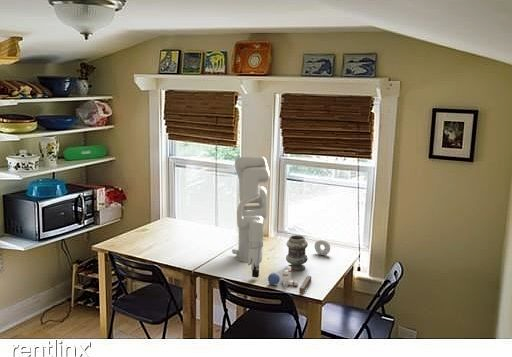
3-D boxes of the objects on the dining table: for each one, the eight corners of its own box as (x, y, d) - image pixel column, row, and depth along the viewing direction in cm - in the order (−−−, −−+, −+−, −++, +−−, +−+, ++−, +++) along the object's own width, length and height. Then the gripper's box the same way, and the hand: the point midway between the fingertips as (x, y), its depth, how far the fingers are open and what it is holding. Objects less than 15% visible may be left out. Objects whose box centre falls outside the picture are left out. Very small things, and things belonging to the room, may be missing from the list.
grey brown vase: (293, 262, 283) (294, 232, 279) (311, 267, 276) (312, 236, 272) (281, 268, 274) (282, 237, 270) (299, 274, 267) (300, 242, 263)
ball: (277, 288, 249) (268, 287, 253) (283, 280, 253) (274, 279, 257) (273, 278, 247) (264, 277, 251) (279, 271, 251) (270, 270, 255)
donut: (330, 255, 294) (331, 239, 292) (328, 257, 291) (329, 241, 289) (315, 252, 299) (316, 236, 297) (313, 254, 296) (313, 238, 294)
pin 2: (285, 283, 255) (285, 267, 253) (286, 281, 257) (287, 265, 255) (290, 283, 254) (290, 268, 252) (291, 281, 256) (291, 266, 255)
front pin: (280, 281, 252) (296, 283, 249) (282, 278, 254) (298, 280, 252) (281, 285, 253) (297, 287, 251) (282, 281, 255) (298, 284, 253)
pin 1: (282, 287, 250) (282, 271, 248) (283, 285, 252) (284, 269, 251) (287, 287, 249) (287, 272, 248) (288, 285, 252) (289, 270, 250)
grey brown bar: (299, 293, 243) (299, 287, 243) (307, 281, 258) (307, 275, 257) (303, 294, 242) (303, 288, 242) (311, 281, 257) (311, 276, 257)
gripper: (254, 238, 263) (253, 270, 267) (243, 247, 249) (243, 281, 253) (267, 239, 261) (266, 272, 264) (257, 249, 247) (257, 283, 251)
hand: (255, 276), depth 259 cm, fingers closed
